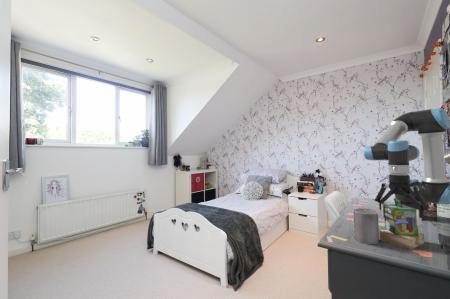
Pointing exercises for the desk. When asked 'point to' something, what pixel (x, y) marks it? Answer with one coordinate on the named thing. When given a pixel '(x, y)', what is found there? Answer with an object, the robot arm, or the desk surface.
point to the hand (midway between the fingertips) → (400, 221)
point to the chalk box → (400, 219)
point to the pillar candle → (366, 226)
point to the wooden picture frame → (402, 239)
